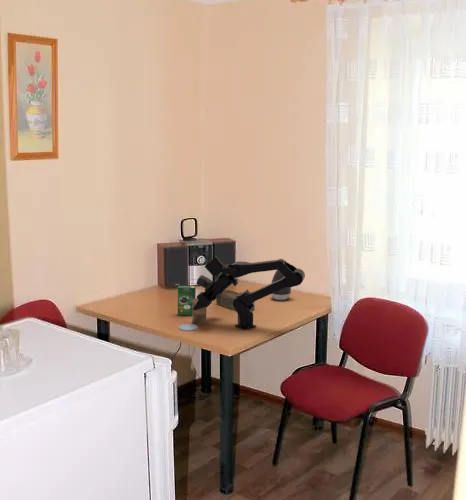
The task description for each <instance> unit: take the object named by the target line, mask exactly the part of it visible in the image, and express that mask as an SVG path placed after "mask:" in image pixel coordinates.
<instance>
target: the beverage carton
mask: <svg viewBox="0 0 466 500" xmlns="http://www.w3.org/2000/svg"><path fill="white" fill-rule="evenodd" d="M239 293H240V292H237V291H234V290H231V289H230V290H229V289H225V290H224V291H223V292H222V293H221V295H220V296H219V297H218V298H216V299H215V300H216V305H218V306H221V307H224V308H226V309H230V310H232V311H235V312H237V311H236V309H235V308H234V307H233V301H234V299H235V298H236V296H237V295H238V294H239ZM255 302H256V301H255ZM255 302H253V303H252V304H253V305H254V306H255ZM255 308H256V307H254V309H253V311H255Z"/></svg>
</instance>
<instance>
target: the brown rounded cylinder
mask: <svg viewBox="0 0 466 500" xmlns="http://www.w3.org/2000/svg"><path fill="white" fill-rule="evenodd" d="M197 302H198V299H197V297H195V299H193V300H192V315H191V316H192V317H191V318H192V323H191V324H195V325H197V326H198V325H199V326H201V325H205V324H206V323H207V308H206V307H204V308H201V309H198V310H194V309H193V308H194V306H195V305H196V303H197Z"/></svg>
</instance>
